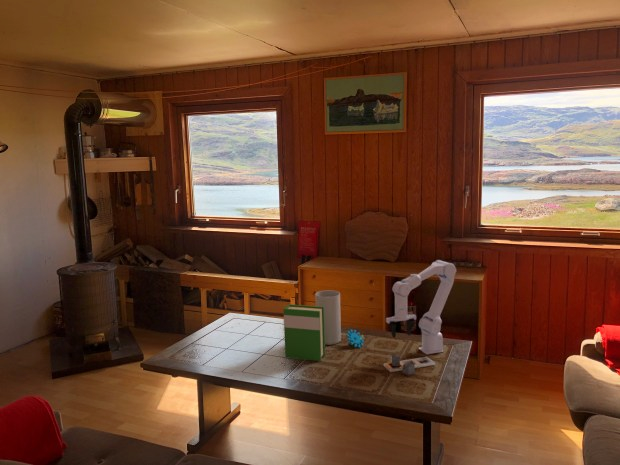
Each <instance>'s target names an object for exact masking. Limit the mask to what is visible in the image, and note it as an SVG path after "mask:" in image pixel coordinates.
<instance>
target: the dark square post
mask: <svg viewBox="0 0 620 465" xmlns="http://www.w3.org/2000/svg"><path fill="white" fill-rule="evenodd" d="M400 361H401V357H400V354H399V353H390V362H391V367H392V368H396V367H400Z"/></svg>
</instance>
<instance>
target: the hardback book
mask: <svg viewBox="0 0 620 465" xmlns="http://www.w3.org/2000/svg"><path fill="white" fill-rule="evenodd" d="M283 328H284V330H283V331H284V351H285V352H284V354H285V355H284V356H285V358H288V359H296V360H298V359H299V360H308V361H315V362H321V361H322V357H324V356H326V344H325V326H324V307H320V306H316V305H303V304H287V305H286V306H285V307H284V308H283Z"/></svg>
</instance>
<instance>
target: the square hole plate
mask: <svg viewBox="0 0 620 465" xmlns="http://www.w3.org/2000/svg"><path fill="white" fill-rule="evenodd" d="M424 361H426V362H424ZM408 362H409V363H411V364H413V365H414V369H418V368H424V367H431V366H436V362H435V361H434V360H432V358H430V357H428V356H423V357H416V358H411V359H405V360H404V359H403V360H400V367H396V368H392V367H391V361H390V362H386V363H383V367H384V368H385V369H386V370H387V371H388V372H390V373H395V372H399V371H400V372H401V371H403V364H405V363H408ZM421 362H424V363H421Z"/></svg>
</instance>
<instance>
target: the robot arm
mask: <svg viewBox="0 0 620 465" xmlns="http://www.w3.org/2000/svg"><path fill="white" fill-rule="evenodd" d="M456 274H457V268H456V265H455V264H454V263H452V262H447V261H443V260H441V259H436V260H435V261H433V262H432V263H431V265H429V266H428V267H427V268H425V269H424V270H422V271H421V272H419V273H418V274H417V273H410V274H409V275H410V276H407V277H406V278H403V279H401V280H400V281H396V282H394V284H393V286H392V288H391V289H392V292H393V293H394V316H390V317H385V323H387V326H389V329H390V332H391V337H392V338H396V334H397V333H396V329H397V324H396V323H397V322H402V321H405V322H406V334H407V336H411V334H412V333H411V332H412V330H413V327H414V325H416V320H417V314H408V296H409V294H410V292H411V291H412V290H414V289H416V288H417V287H419V286H420V285H422V281H424V280H426V279H428V278H430V277H432V276H434V275H437V277H439V281H440V284H439V286H438V289H437V291H436V294H435V296H434V298H433V300H432V303H431V305H430V308H429V310H428V311H427V312H425V313H424V314H423V315H422V317H421V318H420V319H419V322H418V327H419V329H420V332H421V347H418V348H417V349H418V350H420V351H421V352H422V353H424V354H425V355H431V354H438V353H443V352H444V338H443V334H442V333H441V332H440V331H441V328H442V327H441V326H442V323H443V321H442V319H441V314H442V312H443V309H444V307H445V305H446V302H447V300H448V296H449V295H450V292H451V290H452V288H453V285H454V283H455V282H454V281H455V275H456Z"/></svg>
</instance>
